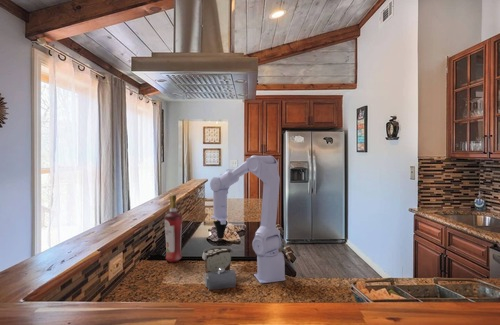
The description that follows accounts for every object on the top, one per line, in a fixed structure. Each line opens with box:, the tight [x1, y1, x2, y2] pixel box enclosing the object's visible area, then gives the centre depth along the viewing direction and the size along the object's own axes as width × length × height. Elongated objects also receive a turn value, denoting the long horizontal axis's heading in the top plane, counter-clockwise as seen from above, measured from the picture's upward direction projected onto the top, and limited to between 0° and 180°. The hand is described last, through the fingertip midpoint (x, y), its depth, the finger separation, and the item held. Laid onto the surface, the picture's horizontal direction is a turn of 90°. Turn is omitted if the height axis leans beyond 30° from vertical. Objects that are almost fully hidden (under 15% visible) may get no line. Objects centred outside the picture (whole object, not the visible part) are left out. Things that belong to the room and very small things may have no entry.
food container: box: [202, 245, 233, 273], centre depth 107 cm, size 12×6×10 cm, turn 132°
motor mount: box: [203, 268, 237, 291], centre depth 100 cm, size 10×7×6 cm
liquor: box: [164, 194, 183, 263], centre depth 124 cm, size 7×7×28 cm
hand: (220, 238), depth 122 cm, fingers closed
